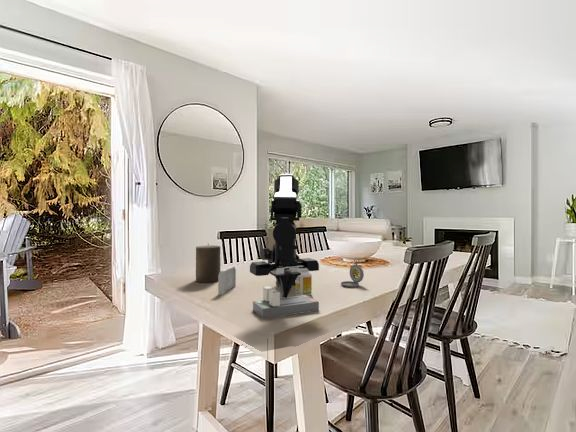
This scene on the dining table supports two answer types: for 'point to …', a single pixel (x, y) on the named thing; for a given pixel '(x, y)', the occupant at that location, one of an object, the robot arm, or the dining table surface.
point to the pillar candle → (207, 263)
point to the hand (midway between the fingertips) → (284, 297)
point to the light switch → (226, 280)
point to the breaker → (266, 292)
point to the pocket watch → (354, 271)
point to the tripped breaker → (274, 298)
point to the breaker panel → (286, 306)
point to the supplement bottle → (304, 282)
